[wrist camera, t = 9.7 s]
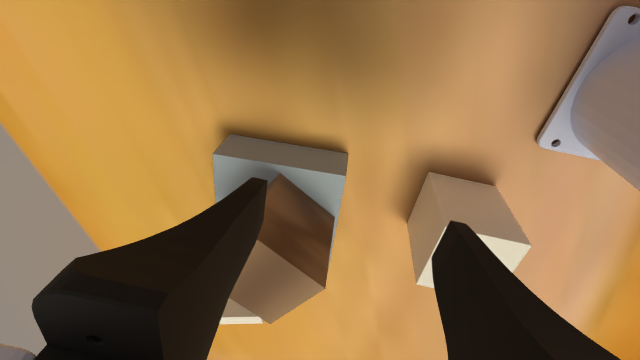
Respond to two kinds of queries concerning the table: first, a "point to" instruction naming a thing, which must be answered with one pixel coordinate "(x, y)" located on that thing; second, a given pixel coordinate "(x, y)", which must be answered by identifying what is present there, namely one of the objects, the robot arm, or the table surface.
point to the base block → (281, 169)
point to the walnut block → (286, 253)
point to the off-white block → (462, 221)
